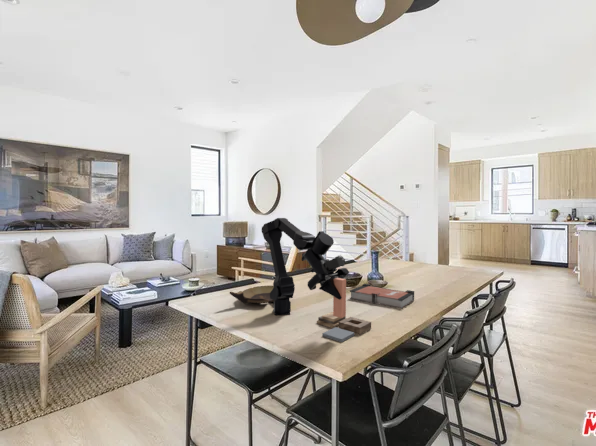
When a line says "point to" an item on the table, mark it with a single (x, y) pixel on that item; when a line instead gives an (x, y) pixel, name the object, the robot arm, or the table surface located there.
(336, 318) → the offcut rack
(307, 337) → the table surface
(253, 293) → the oil lamp
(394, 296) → the book
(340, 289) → the pink bar
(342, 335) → the grey mat
